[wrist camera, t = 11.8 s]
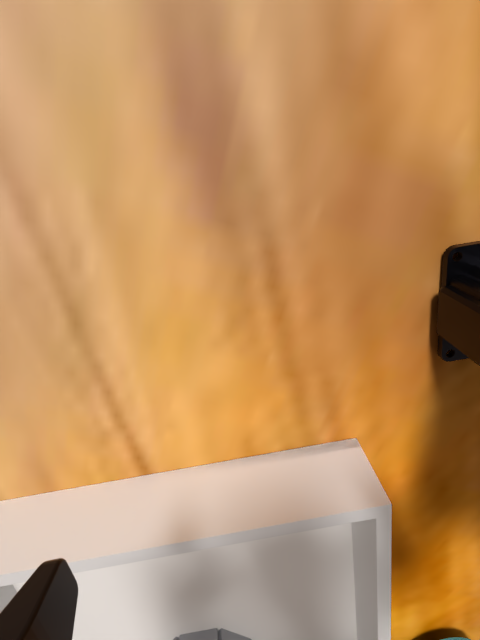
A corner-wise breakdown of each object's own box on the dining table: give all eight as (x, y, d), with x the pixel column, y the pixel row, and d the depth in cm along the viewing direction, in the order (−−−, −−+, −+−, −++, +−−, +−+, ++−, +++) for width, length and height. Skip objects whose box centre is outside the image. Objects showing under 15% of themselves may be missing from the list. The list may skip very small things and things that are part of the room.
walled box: (356, 437, 24) (391, 504, 20) (364, 659, 34) (390, 738, 29) (-34, 506, 24) (-91, 591, 19) (85, 712, 33) (67, 801, 29)
